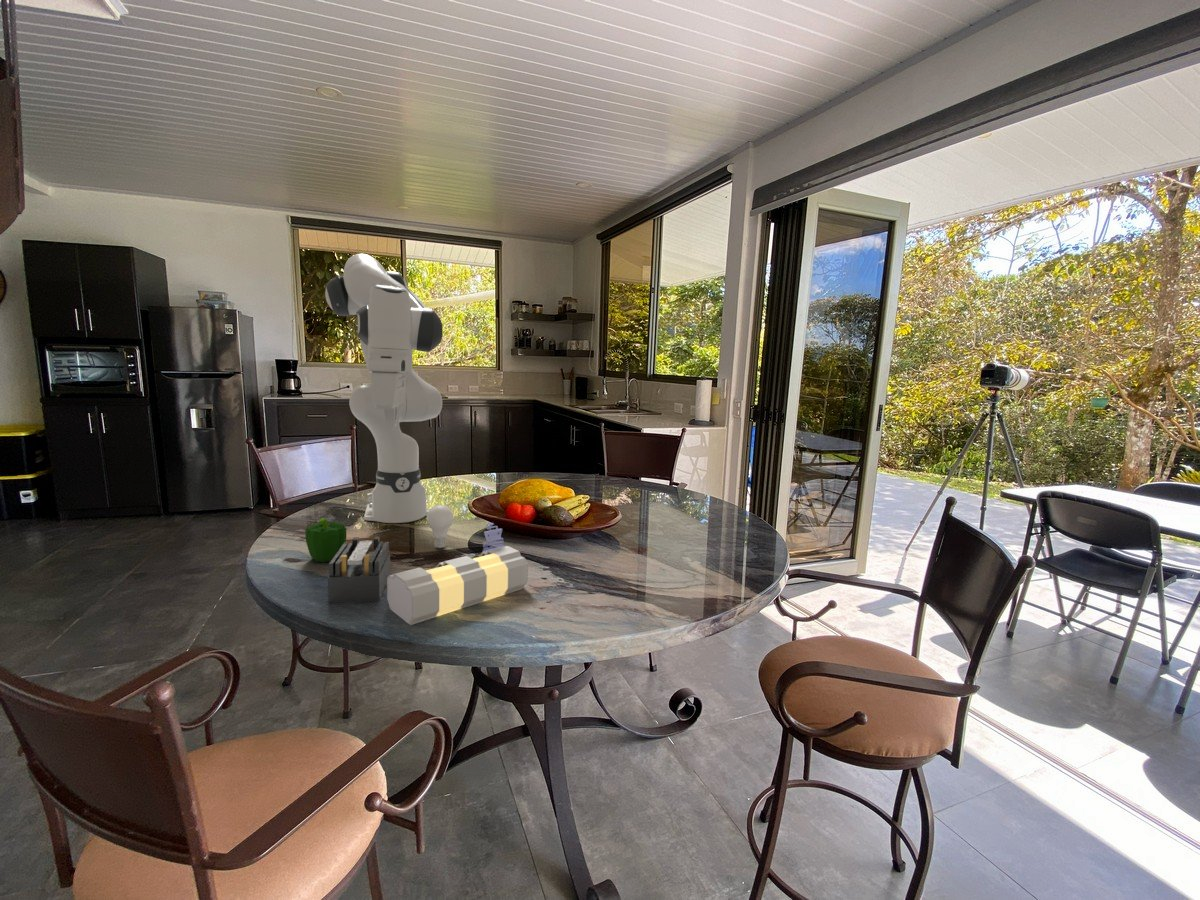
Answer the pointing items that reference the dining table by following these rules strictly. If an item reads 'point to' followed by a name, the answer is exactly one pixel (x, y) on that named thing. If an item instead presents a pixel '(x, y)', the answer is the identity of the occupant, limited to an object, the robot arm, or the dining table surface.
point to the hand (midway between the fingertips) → (391, 426)
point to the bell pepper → (325, 539)
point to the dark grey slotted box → (359, 574)
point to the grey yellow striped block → (457, 582)
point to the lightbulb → (440, 523)
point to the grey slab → (360, 552)
